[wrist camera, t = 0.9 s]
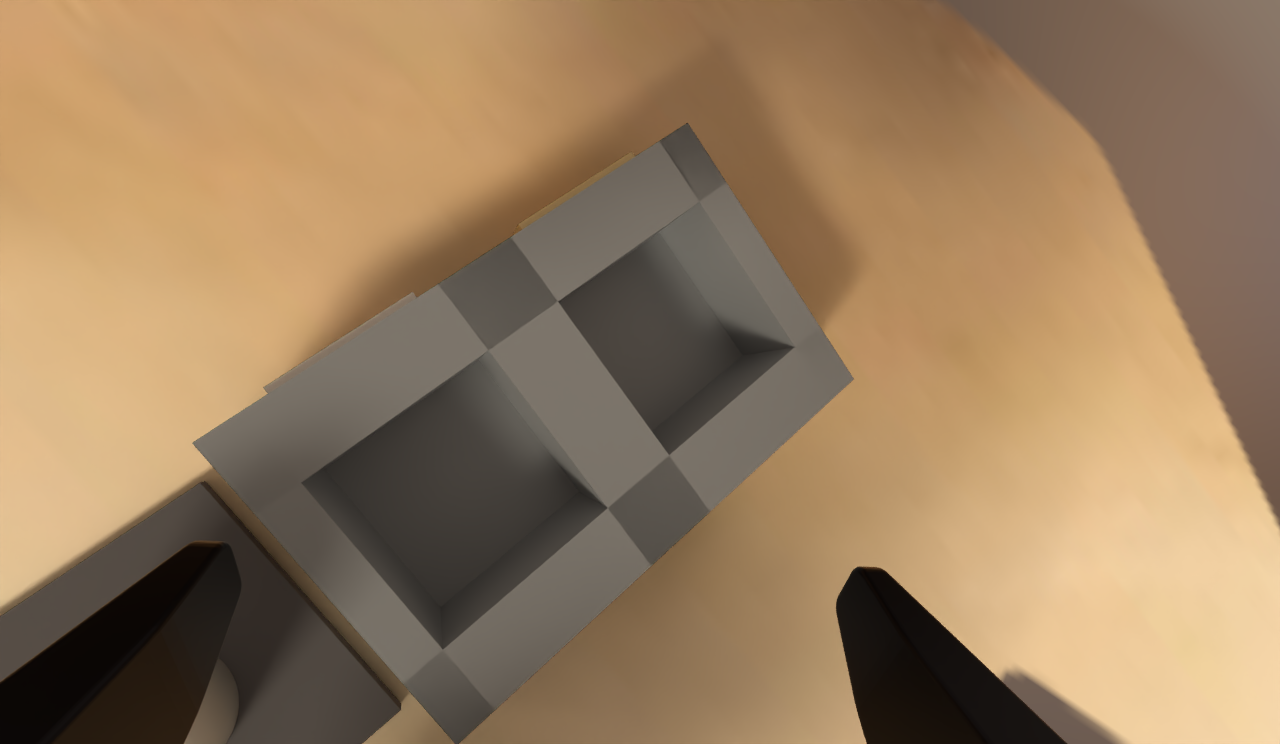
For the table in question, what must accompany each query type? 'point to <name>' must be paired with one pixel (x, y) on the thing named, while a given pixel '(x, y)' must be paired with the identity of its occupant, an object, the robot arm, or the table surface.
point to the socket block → (534, 426)
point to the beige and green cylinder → (216, 709)
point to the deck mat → (254, 644)
